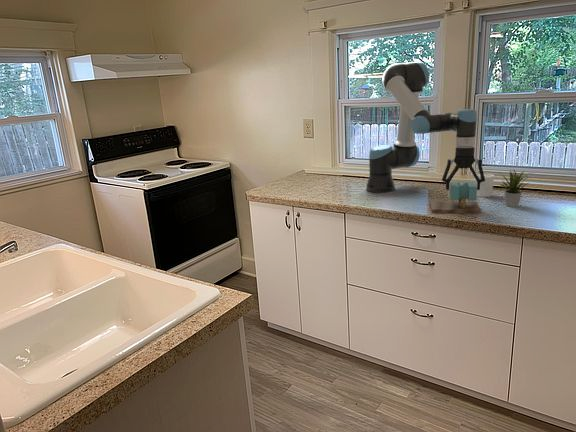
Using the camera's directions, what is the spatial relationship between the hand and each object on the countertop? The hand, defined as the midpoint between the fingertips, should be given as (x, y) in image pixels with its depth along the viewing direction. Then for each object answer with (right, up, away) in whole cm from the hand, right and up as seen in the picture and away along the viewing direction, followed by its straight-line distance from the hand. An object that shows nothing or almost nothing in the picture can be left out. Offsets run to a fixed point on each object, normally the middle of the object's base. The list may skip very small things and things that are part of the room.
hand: (462, 197), depth 192 cm
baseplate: (-3, -5, +2) cm, 6 cm away
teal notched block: (0, 0, 0) cm, 0 cm away
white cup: (+19, +1, +21) cm, 28 cm away
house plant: (+24, -4, +1) cm, 24 cm away
